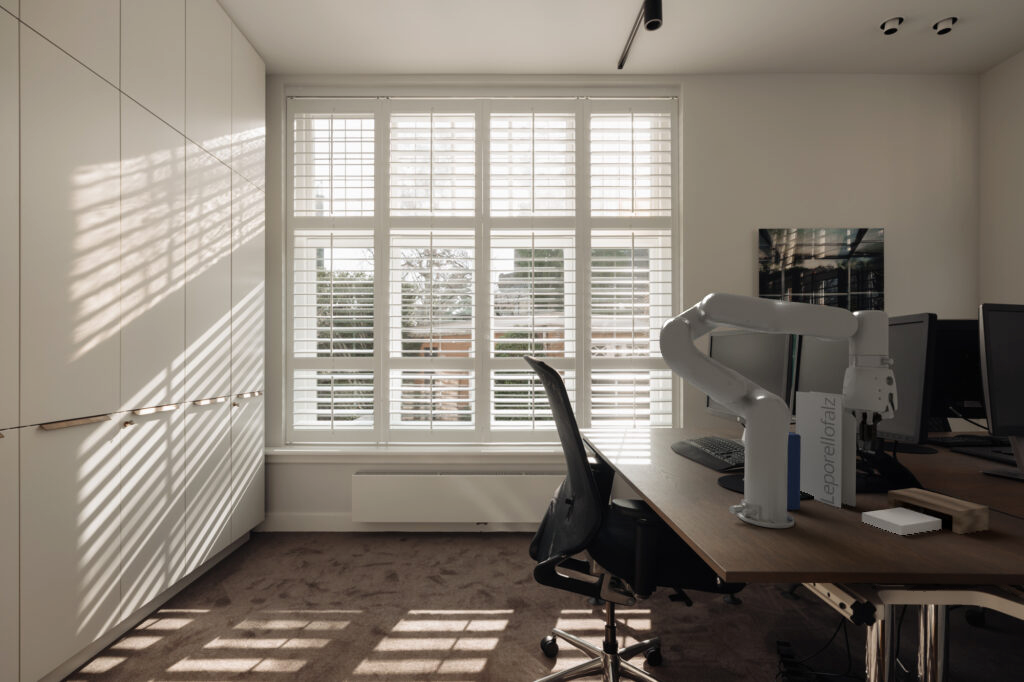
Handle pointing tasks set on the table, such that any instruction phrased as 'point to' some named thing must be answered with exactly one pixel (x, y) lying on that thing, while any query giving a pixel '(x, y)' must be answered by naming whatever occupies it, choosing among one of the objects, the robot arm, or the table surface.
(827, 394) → the brochure
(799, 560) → the table surface
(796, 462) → the electronic device
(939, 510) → the overhang shelf
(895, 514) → the white sponge pad
